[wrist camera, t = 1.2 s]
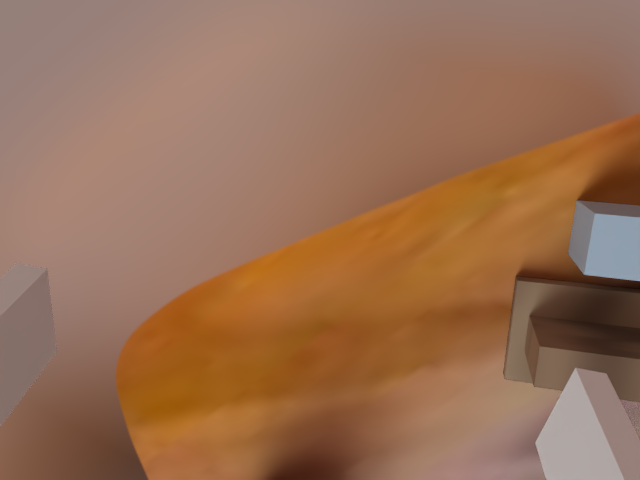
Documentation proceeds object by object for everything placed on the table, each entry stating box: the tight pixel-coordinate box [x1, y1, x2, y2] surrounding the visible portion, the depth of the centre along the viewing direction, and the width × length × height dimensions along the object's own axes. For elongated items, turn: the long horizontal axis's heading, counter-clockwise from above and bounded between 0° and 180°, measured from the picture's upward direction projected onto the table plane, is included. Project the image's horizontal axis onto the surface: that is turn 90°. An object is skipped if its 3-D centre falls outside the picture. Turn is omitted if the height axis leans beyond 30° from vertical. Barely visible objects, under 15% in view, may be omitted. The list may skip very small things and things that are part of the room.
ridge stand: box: [503, 276, 640, 402], centre depth 33 cm, size 10×7×6 cm
